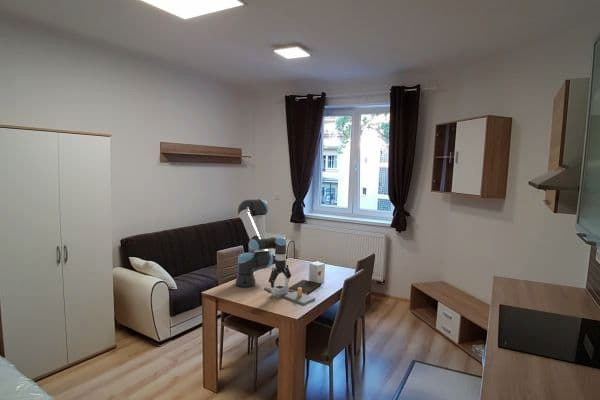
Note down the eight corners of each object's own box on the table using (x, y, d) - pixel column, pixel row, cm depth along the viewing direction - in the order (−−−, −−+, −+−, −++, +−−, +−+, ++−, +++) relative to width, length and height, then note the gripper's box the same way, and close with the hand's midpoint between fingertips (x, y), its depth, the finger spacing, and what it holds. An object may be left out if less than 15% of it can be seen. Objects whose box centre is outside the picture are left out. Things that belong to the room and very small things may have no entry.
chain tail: (262, 289, 249) (262, 288, 249) (266, 288, 252) (266, 286, 252) (274, 293, 241) (274, 292, 241) (278, 292, 244) (278, 290, 244)
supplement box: (316, 284, 263) (317, 265, 261) (308, 281, 269) (309, 262, 268) (324, 282, 269) (325, 263, 267) (316, 279, 275) (317, 261, 274)
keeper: (283, 297, 234) (284, 287, 233) (295, 293, 243) (295, 282, 242) (303, 305, 222) (304, 294, 222) (315, 300, 232) (315, 289, 231)
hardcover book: (288, 291, 248) (288, 288, 248) (302, 282, 268) (302, 279, 268) (307, 295, 241) (307, 292, 240) (321, 286, 261) (321, 283, 261)
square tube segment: (271, 295, 238) (271, 287, 237) (279, 292, 244) (279, 284, 243) (279, 298, 232) (279, 290, 232) (287, 295, 239) (287, 287, 238)
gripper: (271, 263, 224) (271, 295, 225) (296, 257, 243) (295, 286, 244) (263, 261, 229) (263, 292, 230) (288, 255, 248) (288, 284, 249)
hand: (280, 289), depth 237 cm, fingers open, 13 cm apart
